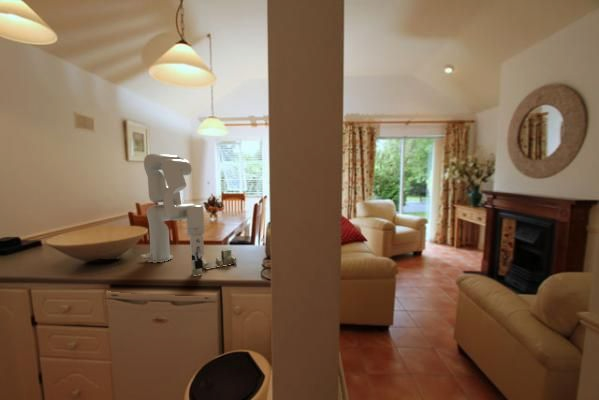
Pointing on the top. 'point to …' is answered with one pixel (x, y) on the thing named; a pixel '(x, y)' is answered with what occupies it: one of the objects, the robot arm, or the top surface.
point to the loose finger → (195, 271)
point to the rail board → (221, 259)
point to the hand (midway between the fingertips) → (197, 265)
